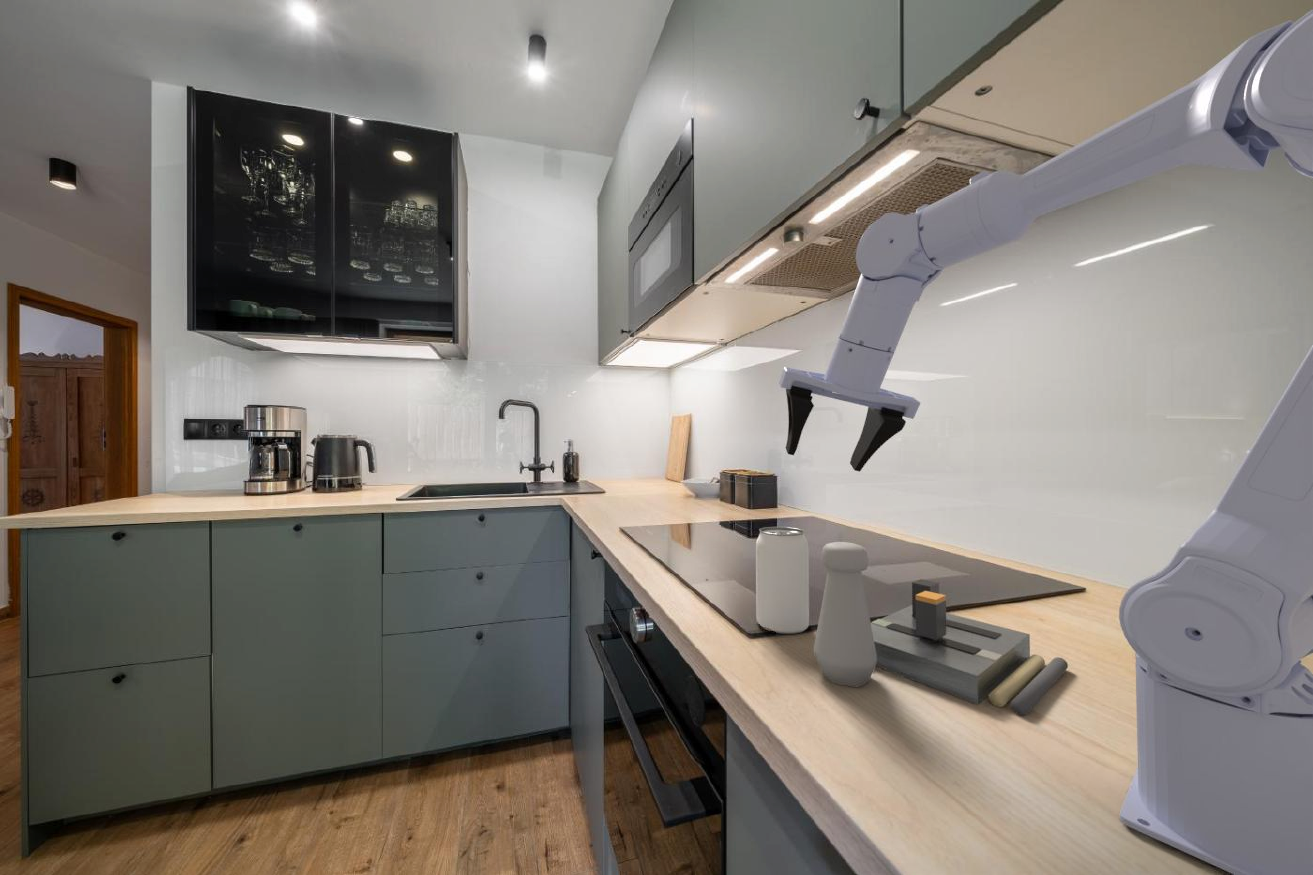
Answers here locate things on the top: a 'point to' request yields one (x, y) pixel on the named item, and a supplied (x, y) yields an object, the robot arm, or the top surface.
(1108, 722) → the top surface
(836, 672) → the salt shaker
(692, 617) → the top surface
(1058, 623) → the top surface
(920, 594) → the toggle
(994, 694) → the pair of rollers
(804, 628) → the can
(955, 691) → the dual slot slider
